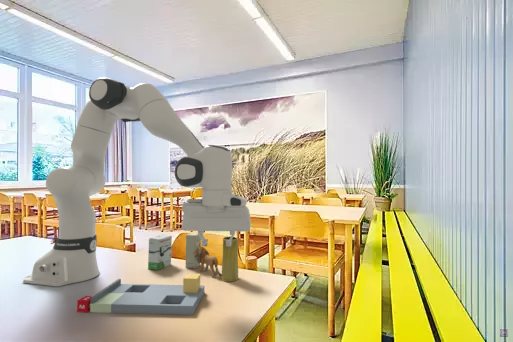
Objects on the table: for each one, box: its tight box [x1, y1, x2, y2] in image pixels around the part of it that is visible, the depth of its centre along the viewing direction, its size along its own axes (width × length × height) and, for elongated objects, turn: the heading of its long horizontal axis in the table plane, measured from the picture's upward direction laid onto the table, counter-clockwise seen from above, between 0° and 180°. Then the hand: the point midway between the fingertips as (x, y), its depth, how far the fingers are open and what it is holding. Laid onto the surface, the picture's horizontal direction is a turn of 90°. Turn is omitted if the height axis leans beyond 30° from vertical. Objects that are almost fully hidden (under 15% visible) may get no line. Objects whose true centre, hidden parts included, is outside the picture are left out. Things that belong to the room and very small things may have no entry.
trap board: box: [89, 278, 205, 316], centre depth 80 cm, size 27×14×4 cm, turn 88°
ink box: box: [147, 234, 173, 271], centre depth 112 cm, size 9×5×12 cm, turn 161°
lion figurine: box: [193, 245, 222, 279], centre depth 105 cm, size 15×5×9 cm, turn 50°
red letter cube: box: [76, 295, 94, 314], centre depth 75 cm, size 3×3×3 cm
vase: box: [220, 236, 240, 283], centre depth 99 cm, size 6×6×14 cm
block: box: [182, 273, 201, 293], centre depth 84 cm, size 4×4×4 cm
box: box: [185, 232, 202, 269], centre depth 113 cm, size 5×4×13 cm
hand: (216, 245), depth 84 cm, fingers open, 6 cm apart
